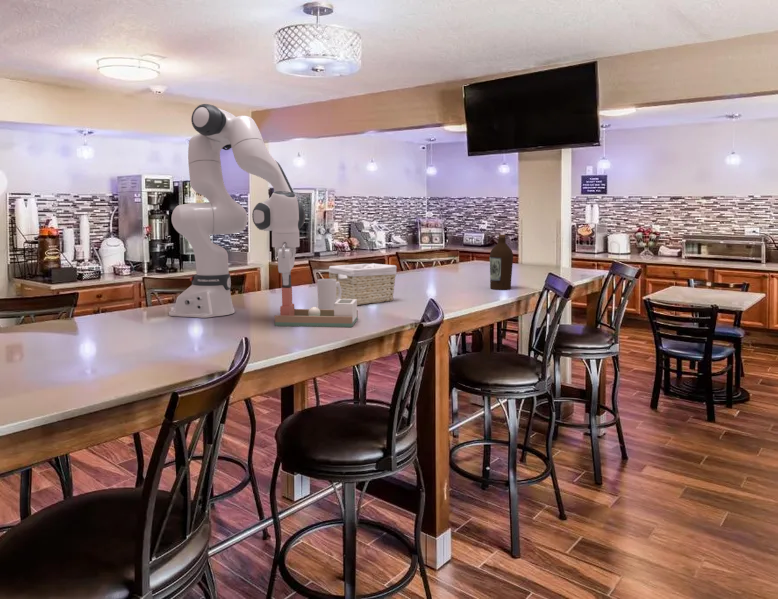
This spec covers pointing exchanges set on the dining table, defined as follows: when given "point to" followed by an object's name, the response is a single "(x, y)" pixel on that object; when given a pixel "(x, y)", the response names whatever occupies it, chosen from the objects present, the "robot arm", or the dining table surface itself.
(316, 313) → the ball
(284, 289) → the post
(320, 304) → the mug
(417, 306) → the dining table surface
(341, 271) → the storage basket
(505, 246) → the olive oil
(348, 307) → the board
